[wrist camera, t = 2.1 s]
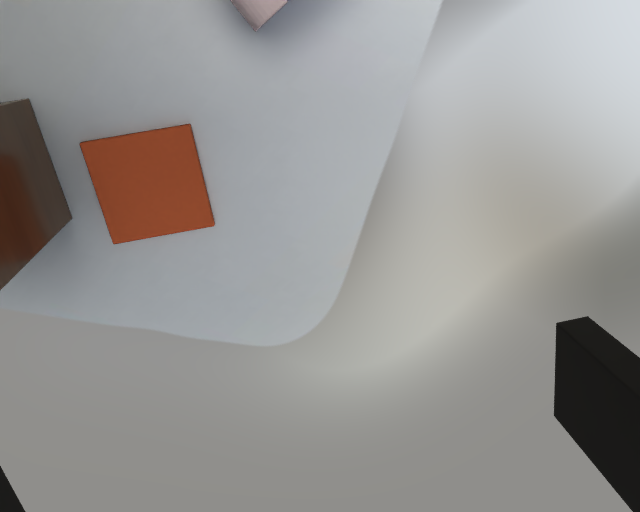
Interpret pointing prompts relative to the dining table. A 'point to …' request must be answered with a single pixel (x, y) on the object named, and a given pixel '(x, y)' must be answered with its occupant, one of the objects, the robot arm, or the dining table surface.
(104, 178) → the terracotta mat
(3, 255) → the block
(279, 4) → the electronic device
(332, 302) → the dining table surface
